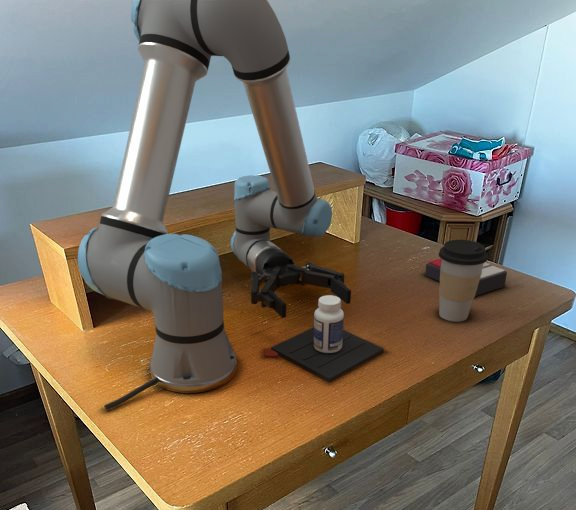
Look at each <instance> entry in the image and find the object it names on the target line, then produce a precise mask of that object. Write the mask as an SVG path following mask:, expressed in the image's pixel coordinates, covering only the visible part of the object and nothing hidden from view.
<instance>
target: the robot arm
mask: <svg viewBox="0 0 576 510" xmlns="http://www.w3.org/2000/svg"><path fill="white" fill-rule="evenodd" d="M130 20H131V23H133V24H134V25H133V27H132V30H133V33H134V36H135V38H136V39H137V41H138V47H137V50H138V52H139V54H140V56H141V58H142V61H143V63H144V64H143V69H142V73H141V77H140V82H139V87H138V91H137V96H136V100H135V104H134V105H135V106H134V110H133V114H132V119H131V123H130V127H129V131H128V137H127V141H126V144H125V145H126V146H125V150H124V154H123V159H122V164H121V167H120V168H121V169H120V171H119V172H120V173H119V177H118V182H117V186H116V191H115V195H114V199H113V204H112V207H111V208H110V209H108V210H106V211H104V212H103V213H101V216H100V221H99V224H98V226H97V227H94V228H92V229H90V230H89V231H88V234H85V235H83V237H82V239H81V241H80V243H79V247H78V251H77V265H78V270H79V273H80V275H81V277H82V278H83V280H84V282H85V284H86V285H87V286H88V287H89V288H90V289H91V290H93V291H94V292H96V293H97V294H101V295H103V297H106V298H107V299H109V300H117V301H120V302H122V303H126V304H129V305H132V306H134V307H138V308H141V309H143V310H146V311H149V312H152V315H153V322H154V329H155V339H154V343H153V348H152V352H151V358H150V362H149V370H150V377H151V379H150V380H149V381H147V382H145V383H143V384H142V385H140V386H138V387H136V388H134V389H133V390H131V391H129V392H128V393H127V394H125V395H123V396H121V397H120V398H117V399H115V400H113V401H111V402H109V403H106V404H104V409H105V410H106V411H109V410H111V409H113V408H115V407H117V406H119V405H121V404H124V403H125V402H127V401H129V400H130V399H132V398H134V397H135V396H137V395H139V394H141V393H143V392H144V391H146V390H147V389H149V388H151V387H153V386H154V385H157V386H158V387H160V388H162V389H165V390H167V391H169V392H174V393H180V394H195V393H197V394H198V393H202V392H207V391H208V392H209V391H212V390H214V389H217V388H220V387H222V386H224V385H226V384H227V383H228V382H230V381H231V380H232V379H233V378H234V377H235V376H236V373H237V370H238V359H237V355H236V354H237V353H235V350H234V348H233V346H232V343H231V341H230V338H229V336H228V334H227V332H226V329H225V320H224V317H225V316H224V300H223V299H224V297H223V281H222V280H223V273H222V267H221V263H220V256H219V253H218V251H217V249H216V248H215V246H214V245H213V244H212V243H210V242H209V241H207V240H205V239H204V238H201V237H198V236H195V235H191V234H186V233H182V234H178V233H169V231H168V229H167V228H166V226H165V223H164V218H165V214H166V209H167V205H168V200H169V197H170V192H171V187H172V184H173V179H174V175H175V172H176V166H177V162H178V158H179V154H180V149H181V147H182V146H181V145H182V141H183V137H184V132H185V129H186V125H187V124H186V123H187V119H188V115H189V112H190V108H191V103H192V98H193V94H194V89H195V85H196V83H197V81H199V80H201V79H203V78H205V77H206V76H207V75H208V72H209V67H210V64H211V59H212V57H224V58H225V59H226V60H227V61H228V62H229V64H230V65H231V68H232V71H233V76H234V77H235V79H236V80H238V81H240V82H242V83H243V87H244V90H245V93H246V97H247V101H248V104H249V108H250V111H251V113H252V117H253V120H254V123H255V127H256V130H257V133H258V136H259V140H260V143H261V147H262V150H263V153H264V156H265V160H266V163H267V166H268V171H269V173H270V176H271V180H272V183H273V186H274V189H275V190H273V189H271V185H270V180H269V178H267V177H265V176H263V175H255V174H254V175H253V174H251V175H244V176H243V175H242V176H241V177H239V178H237V179H235V181H234V198H233V201H234V218H235V219H234V220H235V231H234V232H233V234H232V236H231V238H230V249H231V251H232V252H233V254H234V255H235V257H236V258H237V259H238V260H239V261H240V262H241V263H243V264H244V266H246V267H247V268H248V269H250V270H251V272H250V285H251V287H250V303H251V304H252V305H257V304H258V303H259V302H260V307H261V308H268V309H272V310H274V312H276V313H277V314H278V316H280V317H281V318H282V319H285V318H287V303H286V301H283V299H282V298H280V297H279V295H278V294H276V293H275V292H277V291H278V290H279V288H280V287H287V286H293V285H296V286H305V285H309V286H315V287H319V288H320V287H321V288H325V289H330V292H331V293H332V294H333V295H334V296H337V297H339V298H340V299H341V302H343V303H345V304H346V305H350V304H351V302H352V301H351V300H352V290H351V289H350V288H349V287H348V286H347V284H345V273H344V272H340V271H337V270H333V269H330V268H327V267H323V266H320V265H317V264H315V263H313V262H310V261H306V262H305V266H300V265H297V264H295V262H294V260H293V259H292V257H291V256H290V255H289V254H288V253H286V251H284V250H282V249H281V248H280V247H279V246H277V245H276V244H275V243H274V242H272V241H271V229H275V230H281V231H285V232H289V233H293V234H298V235H301V236H304V237H305V236H307V237H314V238H320V237H322V236H324V235H325V234H326V232H327V231H329V228H330V226H331V223H332V217H333V209H332V206H331V204H330V203H329V201H327V200H326V199H322V198H321V197H319V198H318V197H317V195H316V190H315V187H314V182H313V178H312V173H311V170H310V169H311V168H310V166H309V165H310V164H309V160H308V156H307V152H306V148H305V143H304V140H303V134H302V130H301V126H300V122H299V118H298V117H299V116H298V113H297V109H296V105H295V100H294V96H293V92H292V88H291V83H290V78H289V74H288V70H287V68H288V67H289V65H290V62H291V55H290V50H289V46H288V42H287V39H286V35H285V32H284V30H283V27H282V25H281V23H280V21H279V19H278V17H277V15H276V13H275V11H274V9H273V8H272V6H271V4H270V2H269V1H268V0H132V1H131V7H130ZM262 283H264V285H263V287H262V288H261V289H260V287H261V284H262Z"/></svg>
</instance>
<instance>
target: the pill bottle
mask: <svg viewBox="0 0 576 510" xmlns="http://www.w3.org/2000/svg"><path fill="white" fill-rule="evenodd" d="M317 306H318V307H317V308H316V309H315V311H314V315H313V327H314V347H315V349H316V350H318V351H320V352H323V353H335V352H337V351H339V350H340V349H341V348H342V340H343V330H344V321H345V312H344V311H343V310H342V308H341V307H342V300H341V299H340V298H339V297H337V296H336V295H334V294H333V295H331V294H326V295H322V296H320V297H319V298H318V304H317Z"/></svg>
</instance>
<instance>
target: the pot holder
mask: <svg viewBox="0 0 576 510" xmlns="http://www.w3.org/2000/svg"><path fill="white" fill-rule="evenodd" d="M384 351H385V349H384V348H383V347H382V346H379V345H377V344H375V343H374V342H373V343H372V342H370V341H368V340H366V339H364V338H362V337H360V336H358V335H355V334H354V333H351V332H348V331H347V330H344V329H343V340H342V348H341V349H340V350H339V351H337V352H335V353H323V352H320V351H318V350H316V349H315V347H314V326H313V327H311V328H309V329H307V330H305V331H303V332H300V333H299V334H296V335H294V336H292V337H290V338H288V339H285V340H283V341H282V342H280V343H277V344H275V345H274V346H273V345H272V346H271V347H270V348H265V351H264V358H278V357H279V356H280V357H281V358H283V359H285V360H287V361H289V362H291V363H293V364H295V365H296V366H298V367H300V368H301V369H304V370H306V371H308V372H309V373H311V374H313V375H315V376H317V377H318V378H320V379H323V380H324V381H326V382H328V383H331V382H332V381H335V380H336V379H338V378H339V377H342V376H344V375H346V374H347V373H349V372H351V371H353V370H354V369H356V368H358V367H359V366H361V365H363V364H365V363H367V362H369V361H370V360H372V359H374V358H375V357H377V356H379V355H381V354H383V353H384Z"/></svg>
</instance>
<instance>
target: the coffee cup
mask: <svg viewBox="0 0 576 510" xmlns="http://www.w3.org/2000/svg"><path fill="white" fill-rule="evenodd" d="M438 257H439V259H440V258H441V268H440V281H439V289H438V293H439V306H438V307H439V308H438V309H439V310H438V312H439V313H438V316H439V317H440V318H442V319H443V320H445V321H449V322H455V323H460V322H464V321H466V320H467V319H468V318H469V314H470V311H471V308H472V304H473V301H474V299H475V297H476V296H475V294H476V290H477V287H478V284H479V281H480V277H481V274H482V268H483V264H484V263H487V262H488V260H489V258H488V252H487V250H486V246H485V245H484V244H482V243H480V242H477V241H475V240H469V239H451V240H447V241H446V242H444V243H443V246H442V247H441V248H440V249H439V252H438Z"/></svg>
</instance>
